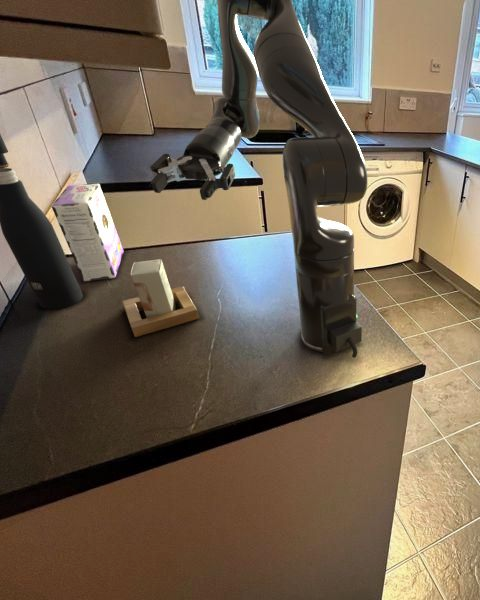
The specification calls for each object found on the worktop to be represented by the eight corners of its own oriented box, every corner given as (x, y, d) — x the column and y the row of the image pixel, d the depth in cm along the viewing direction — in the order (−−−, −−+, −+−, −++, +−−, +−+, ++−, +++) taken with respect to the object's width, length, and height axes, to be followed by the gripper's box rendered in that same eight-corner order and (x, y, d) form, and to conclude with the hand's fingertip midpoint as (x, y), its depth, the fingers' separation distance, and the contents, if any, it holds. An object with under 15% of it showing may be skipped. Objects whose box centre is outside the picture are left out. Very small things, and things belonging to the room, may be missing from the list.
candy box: (95, 255, 88) (66, 184, 80) (125, 251, 91) (100, 182, 82) (82, 282, 78) (48, 204, 69) (116, 278, 80) (87, 201, 71)
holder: (199, 318, 70) (197, 309, 69) (135, 337, 64) (131, 328, 63) (185, 294, 76) (182, 286, 75) (125, 309, 71) (122, 300, 70)
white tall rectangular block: (150, 308, 71) (134, 260, 66) (176, 305, 73) (162, 258, 68) (146, 324, 67) (128, 274, 62) (174, 319, 69) (159, 271, 64)
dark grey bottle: (84, 288, 76) (13, 126, 60) (81, 304, 71) (4, 133, 55) (43, 295, 73) (-43, 126, 57) (37, 312, 68) (-58, 133, 52)
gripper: (171, 127, 77) (131, 168, 67) (242, 138, 79) (214, 180, 68) (182, 161, 83) (146, 203, 72) (247, 171, 84) (222, 214, 74)
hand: (179, 192), depth 70 cm, fingers open, 8 cm apart
